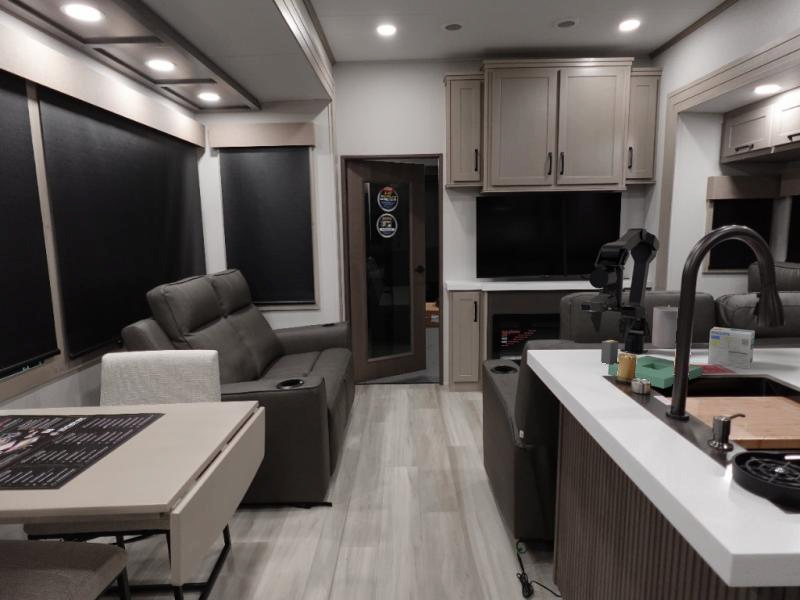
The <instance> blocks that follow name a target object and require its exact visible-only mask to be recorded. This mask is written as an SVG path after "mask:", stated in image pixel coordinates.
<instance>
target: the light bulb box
mask: <svg viewBox="0 0 800 600" xmlns="http://www.w3.org/2000/svg"><path fill="white" fill-rule="evenodd" d="M755 334H756V331H755V330H750V329H740V328H728V327H726V328H725V327H718V326H713V328H711V329H710V330H709V344H708V359H707V364H712V365H718V366H724V367H732V368H739V369H746V370H750V369H751V367H752V366H753V363H754V361H753V360H754V349H755V348H754V347H755V346H754V345H755Z"/></svg>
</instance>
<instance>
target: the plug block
mask: <svg viewBox="0 0 800 600" xmlns="http://www.w3.org/2000/svg"><path fill="white" fill-rule="evenodd" d="M600 354H601V356H600V357H601V359H600V363H601V362H602V363H606V364H609V365H608V366H610V365H611V364H614V363H618V362H617V358H618V359H619V341H618V340H613V339H607V340H603V341H601V353H600ZM602 363H601V364H602ZM606 364H605V365H606Z"/></svg>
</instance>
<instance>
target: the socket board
mask: <svg viewBox="0 0 800 600" xmlns="http://www.w3.org/2000/svg"><path fill="white" fill-rule="evenodd" d="M674 361H675V360H672V359H671V360H670V359H666V358H660V357H656V356H651V355H645V356H641V357H638V358H637V364H636V371H635V377H636V378H643V379H647V380H649V381H650V383H651V385H650V386H652V387H656V388H660V389H667V388H669V387H673V386H672V384H673V374H674ZM618 363H619V362H617V364H613V365H607V367H608V368H607V369H608V371H607V372H608V373H607V374H608V375H609V374H610V375H609V376H613V375H615V376H614V377H617V376H616V375H617V371H618ZM689 364H690V366H689V380H688V381H690V380H693V379H696V378H699V377H700V376H699V375H702V376H703V371H704V370H703V369H704V368H703V366H700V365H694V364H691V363H689ZM698 376H699V377H698Z"/></svg>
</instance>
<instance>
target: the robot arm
mask: <svg viewBox="0 0 800 600" xmlns="http://www.w3.org/2000/svg"><path fill="white" fill-rule="evenodd" d="M659 249H660V241H659V238H657V236H656V235H655V234H653V233H651V232H649V231H647V229H646V228H644V227H631V228H628V229H627V231H626V232H625V233H624V234H623V235H622V236H621V237H620V238H619V239H617V240H616V241H612V242H608V243H606V244H603V245H602V246H601V248H600V249H599V252H598V255H597V257H596V260H595V263H594V268H595V269H594V270H593V271H592V272H591V273H590V274H589V277H588V279H589V284H590V285H591V286H592V287H593V288H594V289H599V291H598V294H597V295H596V296H593V297H592V298H590V299H587V300H583V301H582V302H581V304H580V307H579V308H580V310H581V311H583V313H585V314H587V315H588V317H589V318H590V321H591V322H592V325H593V329H594V331H595V333H596V334H599V333H600V330H601V324H602V318H603V317H602V315H603V313H604V312H608V311H610V312H617V313H620V316H619V317H618V330H619V333H620V334H622V339H624V347H623V348H620V349H619V350H620V352H624V351H627V352H626V353H630V354H634V355H639V354H644V353H647V352H649V350H648V349H645V337H650V336H651V334H652V326H651V324H650V321H649V319H648V315H649V314H648V313H647V310H646V308H645V305H644V304H645V299H646V290H647V284H648V277H649V270H650V269H649V268H650V264H651V263H652V261H653V260H655V258H656V257H657V252H658V251H659ZM630 255H631V258H632V260H633V262H634V263H633V269H632V276H631V282H630V288H629V290H630V291H629V296H628V302H627V304H626V303H625V301H623V293H626V288H624V271H625V270H626V268H625V266H626V264H627V261H628V259H629V258H630ZM625 304H626V305H625Z"/></svg>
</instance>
